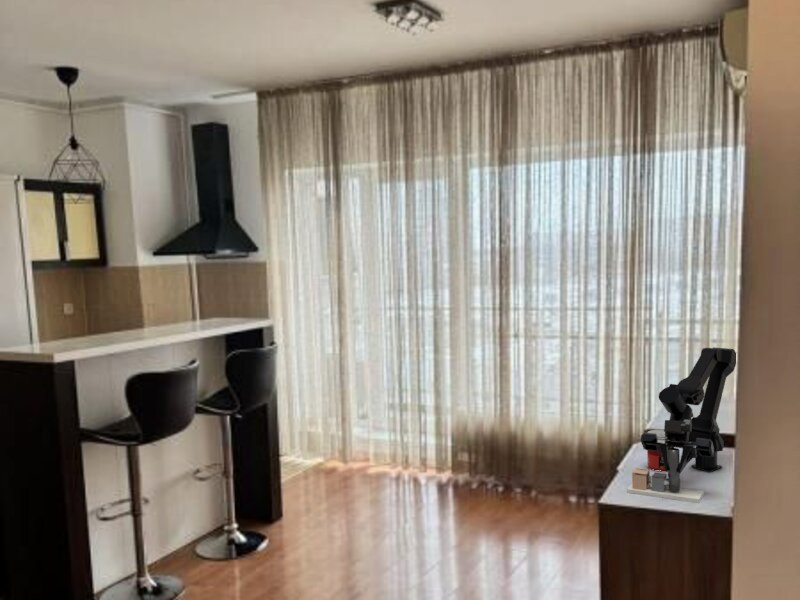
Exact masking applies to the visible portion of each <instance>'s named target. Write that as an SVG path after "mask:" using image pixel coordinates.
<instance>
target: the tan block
mask: <svg viewBox="0 0 800 600" xmlns="http://www.w3.org/2000/svg"><path fill="white" fill-rule="evenodd" d="M650 470H651V469H650V468H649V469H647V468H641V467H640V468H639V467H635V468H634V469H633V471H632V472H631V475H632V477H631V478H632V479H631V480H632V482H631V484H632V487H633V489H640V490H647V489H648V487H649V486H650V484H651V483H647V477H646V476H651V471H650Z"/></svg>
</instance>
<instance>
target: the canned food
mask: <svg viewBox="0 0 800 600" xmlns="http://www.w3.org/2000/svg"><path fill="white" fill-rule="evenodd" d="M646 433H653V434H656V435H657V438H665V439H667V437H665V432H664V429H652V430H648V431H647V432H646ZM668 448H675V447H668ZM646 451H647V466H648V468H649V469H650V468H651V469H650V470H652V469H654V470H653V471H655V470H661V471H660V472H662V471H666V470H665V465H664V460H663V455H662V454H659V453H658V450H656V451H650V450H646Z"/></svg>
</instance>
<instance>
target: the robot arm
mask: <svg viewBox="0 0 800 600" xmlns="http://www.w3.org/2000/svg"><path fill="white" fill-rule="evenodd" d="M736 353H737V352H736V350H735V349H734V348H724V347H704V348H702V349H701V351H700V356H699V357H698V359H697V361H696V363H695V364H694V367H693V368H692V370H691V371H690V373H689V374H688V376H687V377H685V378H683V379H681V380H679V382H678V383H677V384H674V383H669V386H666V387H664V388H663V389H662V390H660V391H659V393H658V399H659V401H660V402H661V405H662V406H663V407H664V408H665V410H666V411H667V413H669V414H670V415H669V419H665V420H664V428H663V430H664V432H665V437H667V439H665V438H657V435H656V434H653V433H647V432H643V433H642V434H641V436H640V442H641V445H642V448H643V450H645V451H647V450H650V451H656V450H658V453H659V454H662V455H663V460H664V465H665V470H666V472H665V473H668V447H674V448H677V449H682V452H681V456H680V464H679V470H678V472H679V473H680V474H681V473H682V472H683V471H684V469H685V468H686V466H687V465H688V464H689V463H690V461H692V460H693V459H695V463H694V464H691V466H690V468H693V469H698V470H701V471H705V472H709V473H711V472H714V471H716V470H719V469H722V468H723V465H720V464H718V452H723V450H724V447H725V446H724V443H725V442H724V439H723V438H722V436H721V434H720V427H719V425H718V423H717V418H718V413H719V410H720V406H721V405H720V404H721V401H722V397H723V393H724V388H725V386H726V381H727V377H729V376H730V375H731V374H732V373H733V372H734V371H735V369H736V365H737V364H736ZM706 382H707V383H706ZM705 385H706V388H705V390H704V386H705ZM701 403H702V404H701ZM691 405H692V406H699V405H701V407H700V412H699V414H698V415H697V416H694V413H693V408H692V406H691Z"/></svg>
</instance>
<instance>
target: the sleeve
mask: <svg viewBox="0 0 800 600" xmlns="http://www.w3.org/2000/svg"><path fill="white" fill-rule="evenodd" d="M651 476H652V491H658V492H665V490H666V489H667V487H668V486H666V485H664V478H668V473H663V472H654V473H653V474H652V475H651Z"/></svg>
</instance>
